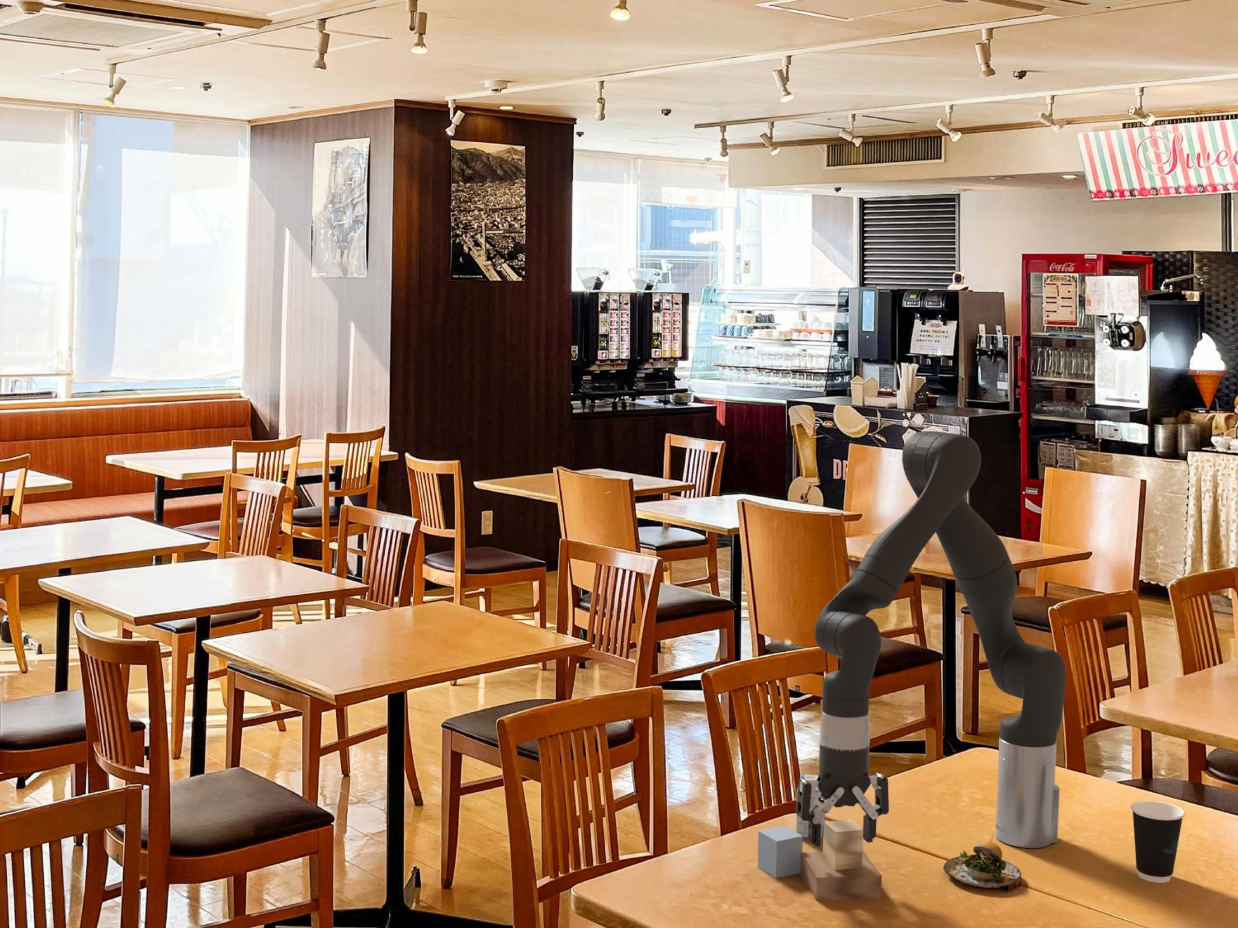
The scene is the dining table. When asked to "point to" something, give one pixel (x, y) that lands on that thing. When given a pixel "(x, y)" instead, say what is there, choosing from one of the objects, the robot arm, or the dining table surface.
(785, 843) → the slate block
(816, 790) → the medicine box
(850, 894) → the walnut block
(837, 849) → the oak block
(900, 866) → the dining table surface
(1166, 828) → the dixie cup
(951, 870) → the burger
